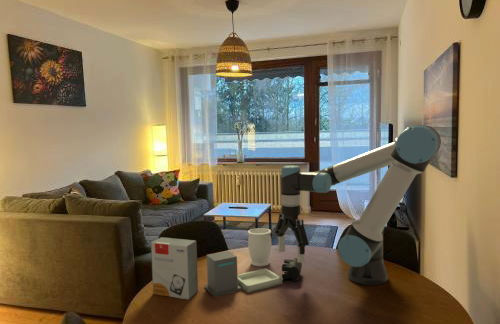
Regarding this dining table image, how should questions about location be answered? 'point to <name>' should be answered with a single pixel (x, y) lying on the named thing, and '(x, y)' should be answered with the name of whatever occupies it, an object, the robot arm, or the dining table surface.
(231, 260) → the unit
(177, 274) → the hard drive box
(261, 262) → the jar
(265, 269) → the tray
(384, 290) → the dining table surface
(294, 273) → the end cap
